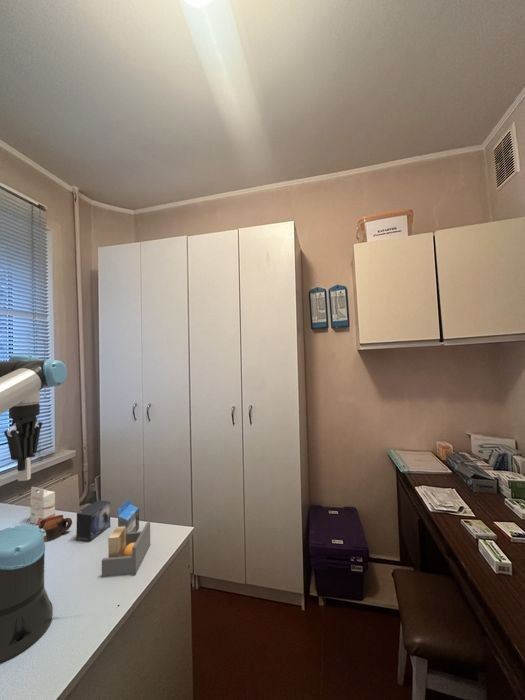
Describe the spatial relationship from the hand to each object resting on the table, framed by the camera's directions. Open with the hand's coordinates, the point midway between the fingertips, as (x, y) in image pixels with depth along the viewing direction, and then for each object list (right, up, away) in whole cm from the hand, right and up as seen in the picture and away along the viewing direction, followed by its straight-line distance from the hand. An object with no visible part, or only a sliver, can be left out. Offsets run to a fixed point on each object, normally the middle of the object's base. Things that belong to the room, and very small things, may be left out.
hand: (24, 479), depth 89 cm
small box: (+10, -30, +20) cm, 37 cm away
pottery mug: (-5, -31, +20) cm, 37 cm away
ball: (+34, -24, +5) cm, 42 cm away
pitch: (+24, -29, +4) cm, 37 cm away
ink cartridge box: (-18, -32, +30) cm, 47 cm away
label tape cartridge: (+25, -30, +18) cm, 42 cm away
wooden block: (+27, -28, +4) cm, 39 cm away
